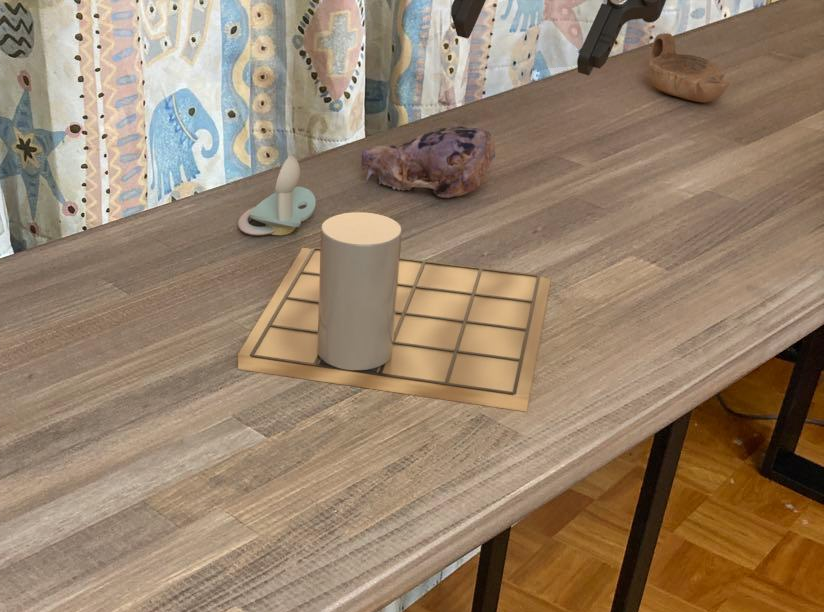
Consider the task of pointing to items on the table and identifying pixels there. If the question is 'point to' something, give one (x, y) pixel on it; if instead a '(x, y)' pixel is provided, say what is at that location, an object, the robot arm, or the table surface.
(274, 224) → the pacifier
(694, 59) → the oil lamp
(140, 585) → the table surface
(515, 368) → the board
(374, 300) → the grey upright cylinder
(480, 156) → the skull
